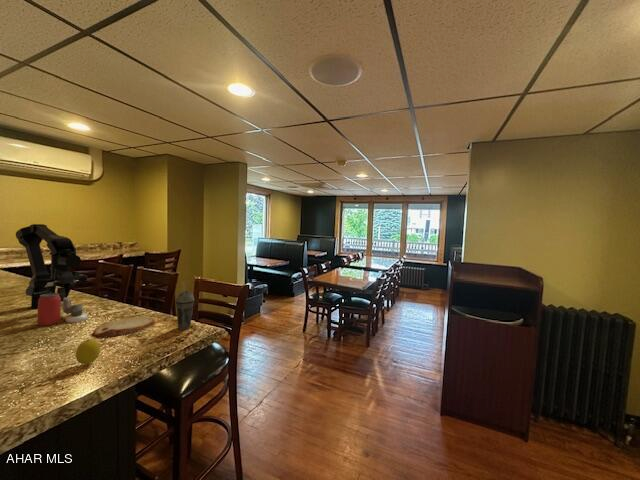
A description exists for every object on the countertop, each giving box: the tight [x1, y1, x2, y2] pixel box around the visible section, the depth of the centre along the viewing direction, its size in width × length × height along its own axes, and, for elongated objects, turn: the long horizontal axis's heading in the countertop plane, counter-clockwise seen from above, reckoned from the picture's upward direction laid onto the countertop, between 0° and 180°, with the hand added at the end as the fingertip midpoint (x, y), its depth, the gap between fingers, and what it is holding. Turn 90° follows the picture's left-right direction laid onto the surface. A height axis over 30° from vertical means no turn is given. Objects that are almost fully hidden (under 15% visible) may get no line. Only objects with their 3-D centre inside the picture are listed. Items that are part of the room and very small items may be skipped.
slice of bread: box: [92, 315, 156, 339], centre depth 110 cm, size 18×18×4 cm
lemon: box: [75, 338, 101, 366], centre depth 81 cm, size 6×6×8 cm
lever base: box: [65, 312, 88, 324], centre depth 115 cm, size 7×7×2 cm
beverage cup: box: [175, 281, 195, 331], centre depth 114 cm, size 7×7×20 cm
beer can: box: [37, 292, 62, 327], centre depth 110 cm, size 7×7×12 cm
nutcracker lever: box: [56, 286, 84, 316], centre depth 120 cm, size 22×4×9 cm, turn 59°
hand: (60, 298), depth 124 cm, fingers open, 4 cm apart
